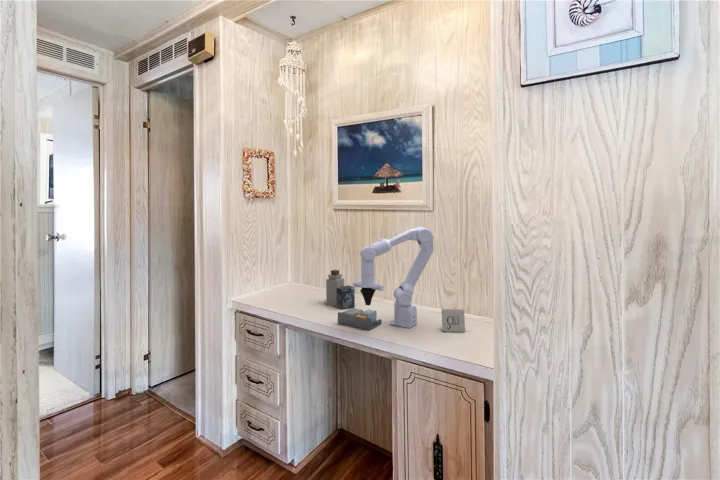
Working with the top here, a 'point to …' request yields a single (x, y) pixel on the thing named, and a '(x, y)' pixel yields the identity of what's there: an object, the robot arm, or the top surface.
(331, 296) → the perfume bottle
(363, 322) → the rack bay
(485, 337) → the top surface
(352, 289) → the box
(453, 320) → the electrical switch
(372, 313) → the pale blue tall block
